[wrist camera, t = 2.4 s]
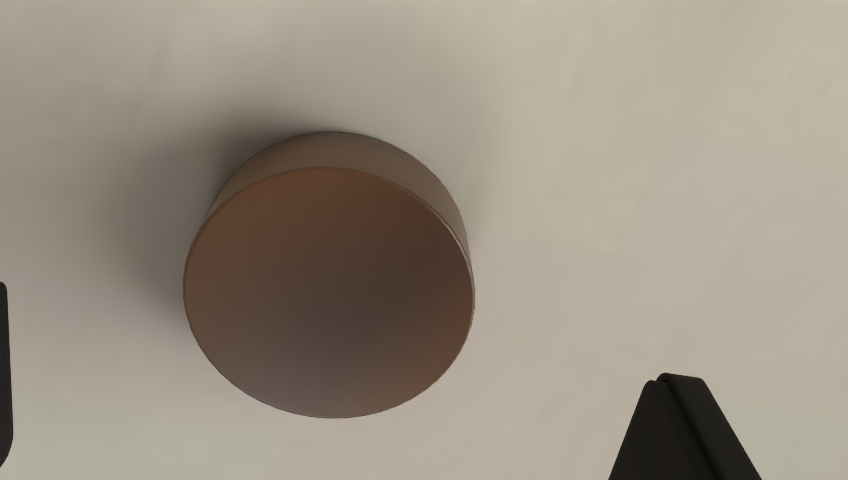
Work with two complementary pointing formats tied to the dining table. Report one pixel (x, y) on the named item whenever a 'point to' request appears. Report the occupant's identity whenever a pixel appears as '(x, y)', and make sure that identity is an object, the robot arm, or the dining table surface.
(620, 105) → the dining table surface
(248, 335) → the brown round disc
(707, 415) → the robot arm
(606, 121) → the dining table surface
